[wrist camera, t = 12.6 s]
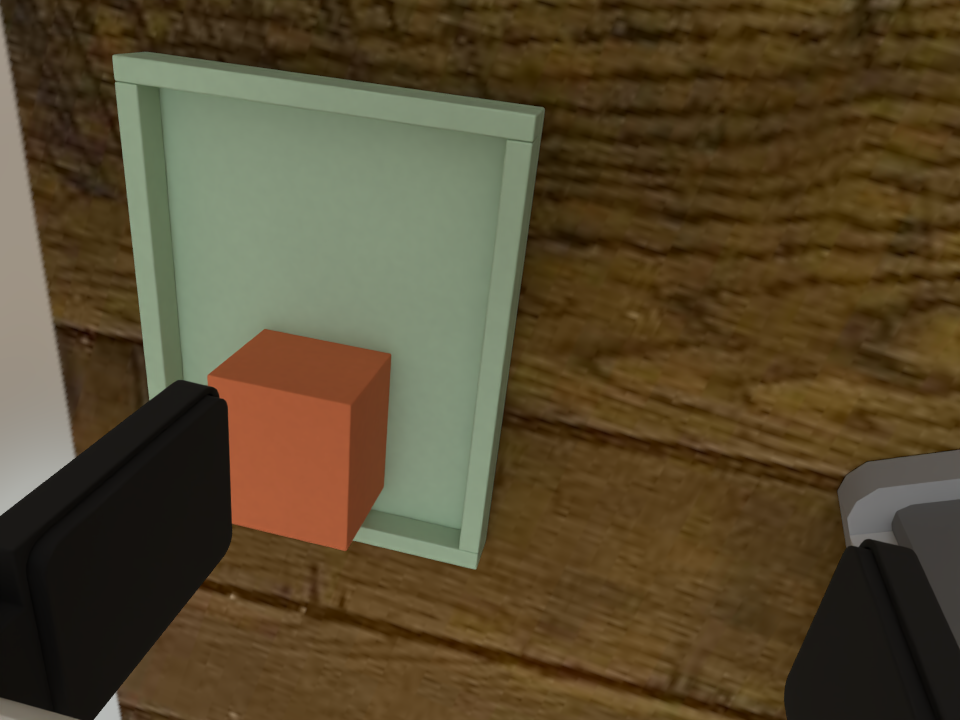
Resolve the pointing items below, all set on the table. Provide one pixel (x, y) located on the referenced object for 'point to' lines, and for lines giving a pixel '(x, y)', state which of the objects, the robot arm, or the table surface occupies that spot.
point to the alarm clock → (911, 516)
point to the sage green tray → (340, 255)
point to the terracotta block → (305, 435)
